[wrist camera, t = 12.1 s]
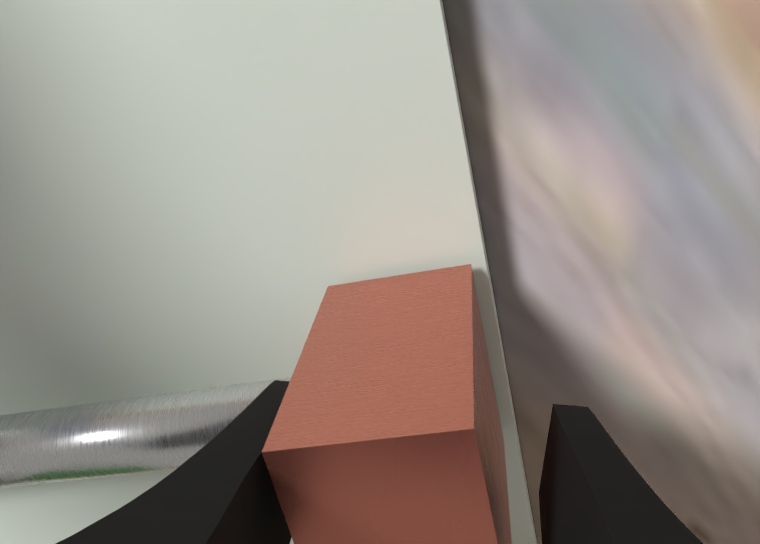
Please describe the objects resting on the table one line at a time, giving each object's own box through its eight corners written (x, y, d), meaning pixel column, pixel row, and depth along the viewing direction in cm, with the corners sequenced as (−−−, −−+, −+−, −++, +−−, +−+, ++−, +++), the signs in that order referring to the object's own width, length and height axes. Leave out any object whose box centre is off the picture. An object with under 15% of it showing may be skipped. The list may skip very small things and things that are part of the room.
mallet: (-199, 367, 17) (-452, 531, 12) (471, 263, 14) (474, 429, 9) (-111, 506, 19) (-304, 696, 14) (504, 440, 16) (520, 655, 11)
